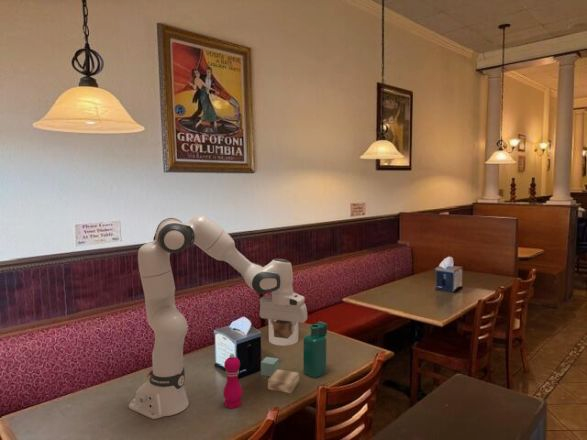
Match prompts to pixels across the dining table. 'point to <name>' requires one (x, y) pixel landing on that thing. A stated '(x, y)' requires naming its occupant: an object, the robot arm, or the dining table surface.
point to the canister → (283, 341)
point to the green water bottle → (315, 350)
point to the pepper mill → (232, 383)
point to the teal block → (269, 366)
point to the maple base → (283, 381)
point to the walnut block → (282, 329)
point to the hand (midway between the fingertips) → (283, 330)
